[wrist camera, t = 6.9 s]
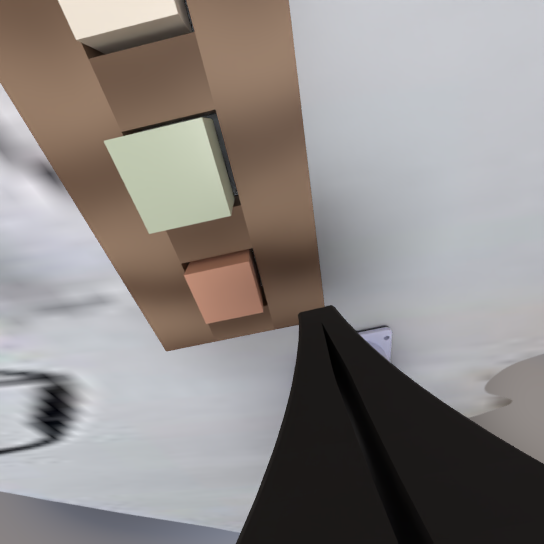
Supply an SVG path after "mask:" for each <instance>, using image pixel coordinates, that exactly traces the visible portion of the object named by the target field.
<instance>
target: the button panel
mask: <svg viewBox="0 0 544 544" xmlns="http://www.w3.org/2000/svg"><path fill="white" fill-rule="evenodd" d="M186 1H187V5H188V9H189V13H190V16H191V20H192V24H193V27H194V31H195V32H192V33H188V34H185V35H181V36H177V37H173V38H169V39H165V40H161V41H157V42H153V43H149V44H145V45H141V46H137V47H133V48H129V49H125V50H121V51H118V52H114V53H110V54H104V53H102V52H100V51H98V50H96V49H94V48H92V47H90V46H88V45H85V44H83V43H81V42H79V41H77V40H76V39H75V36H74V34H73V32H72V30H71V28H70V25H69V23H68V21H67V19H66V17H65V15H64V12H63V10H62V8H61V6H60V4H59V1H58V0H0V83H1V84H2V86H3V88H4V89H5V91H6V93H7V94H8V96H9V97H10V99H11V101H12V102H13V104H14V105H15V107H16V109H17V110H18V112H19V114H20V115H21V117H22V118H23V120H24V122H25V123H26V125H27V127H28V128H29V130H30V131H31V133H32V135H33V136H34V138H35V140H36V141H37V143H38V144H39V146H40V148H41V149H42V151H43V152H44V154H45V156H46V157H47V159H48V161H49V162H50V164H51V165H52V167H53V169H54V170H55V172H56V174H57V175H58V177H59V178H60V180H61V182H62V183H63V185H64V186H65V188H66V190H67V191H68V193H69V195H70V196H71V198H72V199H73V201H74V203H75V204H76V206H77V208H78V209H79V211H80V212H81V214H82V216H83V217H84V219H85V221H86V222H87V224H88V225H89V227H90V229H91V230H92V232H93V233H94V235H95V237H96V238H97V240H98V242H99V243H100V245H101V246H102V248H103V250H104V251H105V253H106V255H107V256H108V258H109V259H110V261H111V263H112V264H113V266H114V268H115V269H116V271H117V272H118V274H119V276H120V277H121V279H122V280H123V282H124V284H125V285H126V287H127V289H128V290H129V292H130V293H131V295H132V297H133V298H134V300H135V302H136V303H137V305H138V306H139V308H140V310H141V311H142V313H143V314H144V316H145V318H146V319H147V321H148V323H149V324H150V326H151V327H152V329H153V331H154V332H155V334H156V336H157V337H158V339H159V340H160V342H161V344H162V345H163V347H164V349H165V350H166V351H171V350H176V349H181V348H186V347H191V346H196V345H200V344H205V343H210V342H215V341H220V340H225V339H230V338H235V337H240V336H245V335H250V334H255V333H260V332H265V331H270V330H275V329H280V328H284V327H289V326H294V325H299V319H298V314H299V313H300V312H304V311H308V310H312V309H317V308H321V307H324V298H323V289H322V281H321V272H320V264H319V255H318V247H317V238H316V230H315V221H314V213H313V204H312V196H311V187H310V179H309V170H308V161H307V153H306V144H305V136H304V127H303V119H302V110H301V102H300V93H299V85H298V76H297V68H296V59H295V51H294V42H293V34H292V25H291V16H290V8H289V0H186ZM214 113H217V117H218V121H219V124H220V128H221V132H222V136H223V139H224V143H225V147H226V151H227V154H228V158H229V162H230V165H231V169H232V173H233V177H234V180H235V184H236V188H237V192H238V195H236V196H234V198H235V200H234V204H233V209H232V214H231V216H228V217H224V218H219V219H215V220H210V221H206V222H201V223H197V224H192V225H188V226H183V227H179V228H174V229H170V230H165V231H161V232H156V233H152V234H149V233H148V231H147V228H146V226H145V224H144V222H143V220H142V218H141V216H140V214H139V212H138V210H137V208H136V206H135V204H134V202H133V200H132V198H131V196H130V194H129V192H128V190H127V188H126V186H125V184H124V182H123V180H122V178H121V176H120V174H119V172H118V170H117V168H116V166H115V164H114V161H113V159H112V157H111V155H110V153H109V151H108V149H107V147H106V145H105V143H104V141H105V140H109V139H114V138H118V137H122V136H126V135H130V134H134V133H139V132H142V131H143V130H147V129H151V128H155V127H160V126H164V125H168V124H172V123H176V122H180V121H185V120H189V119H193V118H197V117H201V116H205V115H210V114H214ZM251 248H253V251H254V255H255V259H256V262H257V266H258V270H259V274H260V277H261V281H262V285H263V286H262V299H263V312H262V313H257V314H253V315H248V316H243V317H238V318H233V319H228V320H223V321H218V322H214V323H209V324H206V323H205V321H204V318H203V316H202V314H201V312H200V310H199V308H198V305H197V303H196V301H195V299H194V297H193V294H192V292H191V290H190V288H189V286H188V283H187V281H186V279H185V277H184V274H185V272H186V269H187V267H188V265H189V263H190V262H191V261H195V260H200V259H205V258H209V257H214V256H218V255H223V254H228V253H232V252H237V251H242V250H246V249H251Z"/></svg>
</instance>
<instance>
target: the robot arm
mask: <svg viewBox="0 0 544 544" xmlns="http://www.w3.org/2000/svg"><path fill="white" fill-rule="evenodd" d="M298 319H299V342H298V351H297V359H296V365H295V371H294V376H293V382H292V387H291V391H290V395H289V399H288V403H287V407H286V411H285V415H284V418H283V421H282V425H281V428H280V431H279V435H278V438H277V441H276V444H275V447H274V450H273V453H272V455H271V458H270V461H269V464H268V466H267V469H266V472H265V474H264V477H263V480H262V482H261V485H260V488H259V490H258V493H257V495H256V498H255V500H254V503H253V505H252V508H251V510H250V512H249V515H248V517H247V519H246V522H245V524H244V526H243V529H242V531H241V533H240V536H239V538H238V540H237V543H236V544H544V464H543V463H541V462H539V461H538V460H536V459H534V458H532V457H531V456H529V455H527V454H525V453H524V452H522V451H520V450H519V449H517V448H515V447H514V446H512V445H510V444H509V443H507V442H505V441H504V440H502V439H500V438H499V437H497V436H495V435H494V434H492V433H490V432H488V431H487V430H485V429H484V428H482V427H481V426H479V425H478V424H476V423H475V422H473V421H471V420H470V419H468V418H467V417H465V416H464V415H462V414H461V413H459V412H458V411H456V410H454V409H453V408H451V407H450V406H448V405H447V404H445V403H444V402H442V401H441V400H439V399H438V398H437V397H435V396H434V395H432V394H431V393H430V392H428V391H427V390H425V389H424V388H422V387H421V386H420V385H418V384H417V383H416V382H414V381H413V380H412V379H410V378H409V377H408V376H407V375H405V374H404V373H403V372H401V371H400V370H399V369H398V368H396V367H395V366H394V365H393V364H392V363H391V362H390V357H391V343H392V331H391V329H390V328H389V327H384V328H378V329H373V330H368V331H363V332H358V333H357V332H356V331H355V330H354V329H353V327H352V326H351V325H350V324H349V323H348V322H347V321H346V320H345V319H344V318H343V317H342V316H341V314H340V313H339V312H338V311H337V310H336V308H335V307H334V306H332V305H330V306H326V307H321V308H317V309H312V310H308V311H304V312H300V313H299V314H298Z"/></svg>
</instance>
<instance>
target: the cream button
mask: <svg viewBox="0 0 544 544" xmlns="http://www.w3.org/2000/svg"><path fill="white" fill-rule="evenodd" d="M58 1H59V4H60V6H61V8H62V10H63V12H64V15H65V17H66V19H67V21H68V23H69V25H70V28H71V30H72V32H73V34H74V36H75V39H76V40H77V41H79V42H81V43H83V44H85V45H88V46H90V47H92V48H94V49H96V50H98V51H100V52H102V53H104V54H110V53H114V52H118V51H121V50H125V49H129V48H133V47H137V46H141V45H145V44H149V43H153V42H157V41H161V40H165V39H169V38H173V37H177V36H181V35H185V34H188V33H192V32H193V31H192V28H191V24H190V20H189V17H188V13H187V9H186V6H185V2H184V0H58Z"/></svg>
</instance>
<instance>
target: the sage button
mask: <svg viewBox="0 0 544 544" xmlns="http://www.w3.org/2000/svg"><path fill="white" fill-rule="evenodd" d="M104 143H105V145H106V147H107V149H108V151H109V153H110V155H111V157H112V159H113V161H114V164H115V166H116V168H117V170H118V172H119V174H120V176H121V178H122V180H123V182H124V184H125V186H126V188H127V190H128V192H129V194H130V196H131V198H132V200H133V202H134V204H135V206H136V208H137V210H138V212H139V214H140V216H141V218H142V220H143V222H144V224H145V226H146V228H147V231H148V233H149V234H152V233H156V232H161V231H165V230H170V229H174V228H179V227H183V226H188V225H192V224H197V223H201V222H206V221H210V220H215V219H219V218H224V217H228V216H231V214H232V209H233V204H234V200H235V198H234V194H233V191H232V187H231V183H230V180H229V176H228V173H227V169H226V165H225V162H224V158H223V155H222V151H221V147H220V144H219V140H218V137H217V133H216V129H215V126H214V122H213V119H210V118H203V117H201V118H197V119H193V120H189V121H185V122H180V123H176V124H172V125H168V126H164V127H159V128H155V129H151V130H147V131H143V132H139V133H134V134H130V135H126V136H122V137H118V138H114V139H109V140H105V141H104Z"/></svg>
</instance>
